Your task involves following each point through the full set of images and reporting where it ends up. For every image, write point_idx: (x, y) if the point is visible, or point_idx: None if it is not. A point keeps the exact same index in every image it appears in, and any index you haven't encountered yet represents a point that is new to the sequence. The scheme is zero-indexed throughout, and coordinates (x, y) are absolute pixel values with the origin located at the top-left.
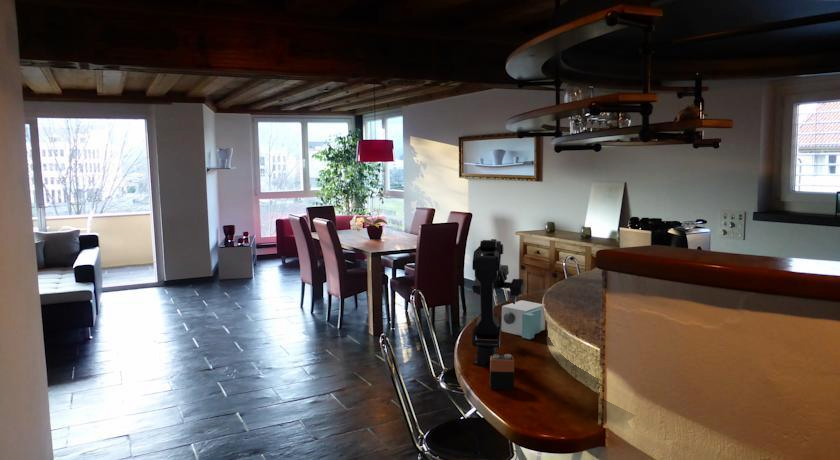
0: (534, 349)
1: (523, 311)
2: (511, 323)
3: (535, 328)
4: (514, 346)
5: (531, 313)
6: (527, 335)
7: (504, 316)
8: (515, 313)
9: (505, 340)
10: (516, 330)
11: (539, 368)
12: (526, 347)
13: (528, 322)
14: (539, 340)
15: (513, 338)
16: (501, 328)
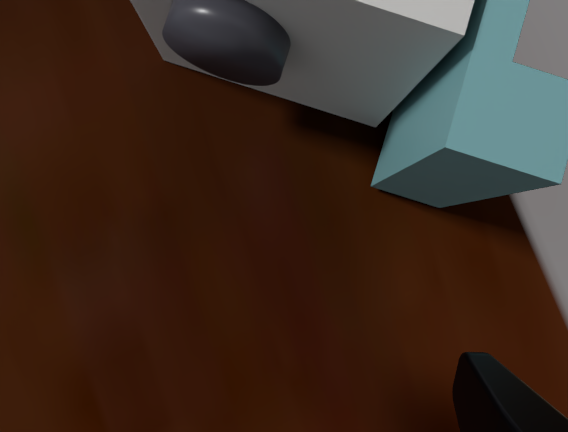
0: None
1: (424, 31)
2: (260, 82)
3: None
4: (377, 402)
5: (539, 71)
6: (427, 198)
7: (170, 36)
8: (300, 17)
9: (270, 286)
10: (303, 93)
11: None
12: None
13: (488, 187)
14: None
15: (309, 208)
16: (159, 52)
